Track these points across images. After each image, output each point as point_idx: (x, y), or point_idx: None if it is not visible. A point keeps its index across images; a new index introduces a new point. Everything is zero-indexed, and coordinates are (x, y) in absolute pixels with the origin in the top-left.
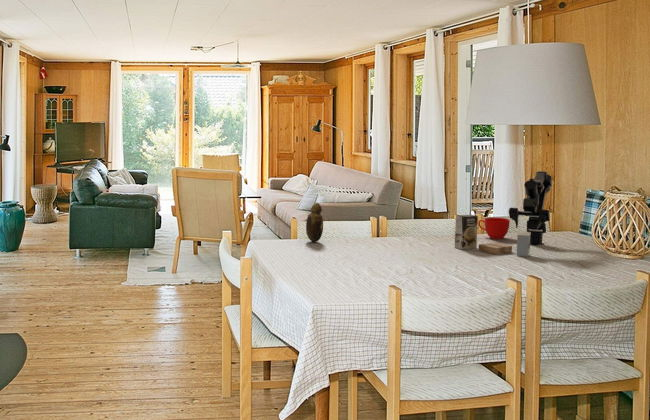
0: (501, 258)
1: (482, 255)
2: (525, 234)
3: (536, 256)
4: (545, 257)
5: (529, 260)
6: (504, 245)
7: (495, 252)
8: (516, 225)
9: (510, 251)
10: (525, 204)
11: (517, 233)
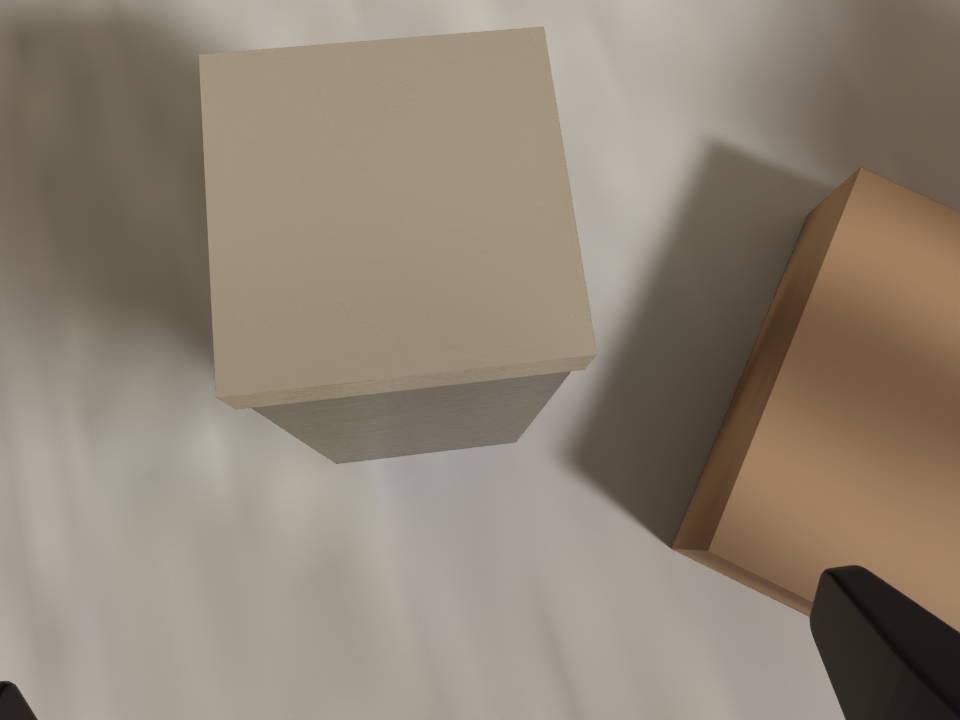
0: (616, 4)
1: (917, 62)
2: (301, 62)
3: (205, 428)
4: (50, 428)
5: None
6: (854, 531)
7: (820, 206)
8: (882, 595)
9: (689, 518)
10: None
11: (533, 36)
